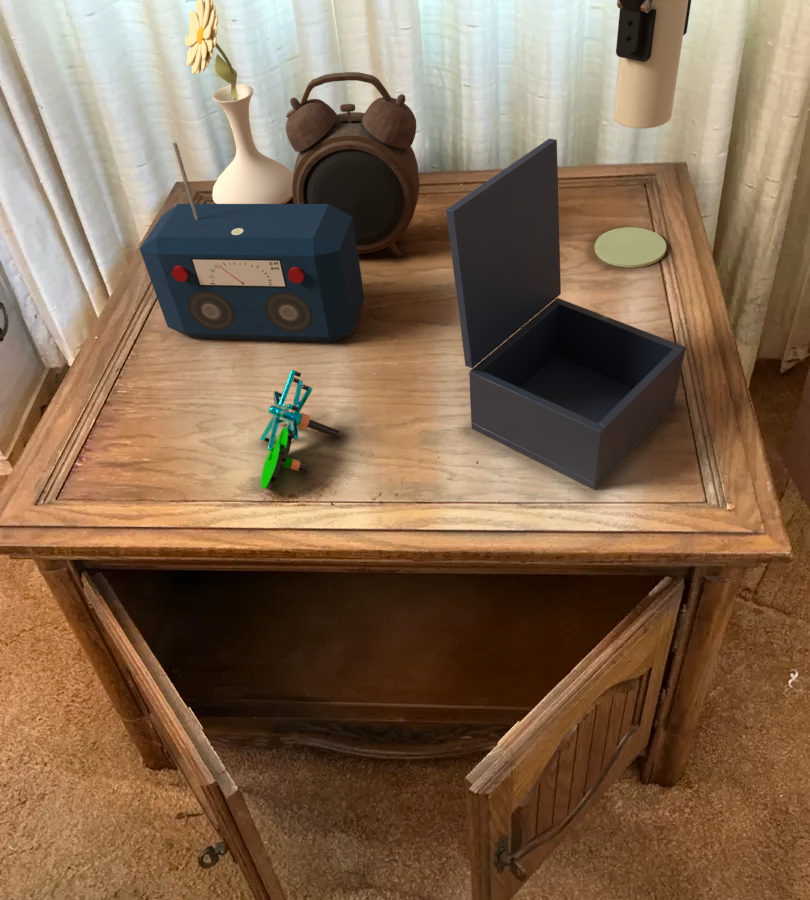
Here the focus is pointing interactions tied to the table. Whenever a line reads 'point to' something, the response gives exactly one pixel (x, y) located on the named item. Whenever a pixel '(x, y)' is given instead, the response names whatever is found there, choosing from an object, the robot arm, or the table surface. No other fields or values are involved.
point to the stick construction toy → (288, 431)
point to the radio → (255, 270)
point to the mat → (630, 247)
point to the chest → (575, 390)
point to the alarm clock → (357, 161)
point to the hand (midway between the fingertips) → (651, 43)
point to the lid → (506, 251)
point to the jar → (652, 72)
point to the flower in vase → (235, 123)
